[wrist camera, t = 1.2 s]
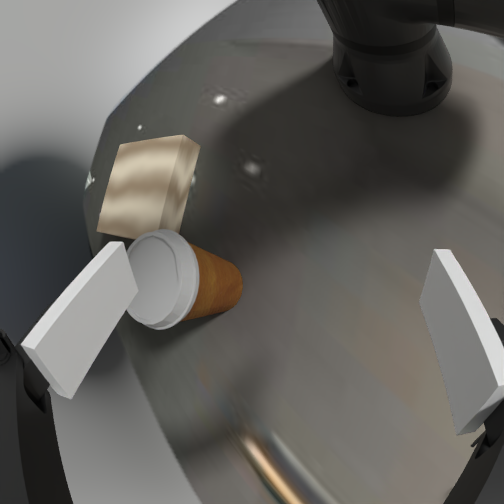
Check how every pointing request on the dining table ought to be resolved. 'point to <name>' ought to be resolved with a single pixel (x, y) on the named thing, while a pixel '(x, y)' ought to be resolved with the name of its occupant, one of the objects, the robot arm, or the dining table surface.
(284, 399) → the dining table surface
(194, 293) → the disposable coffee cup
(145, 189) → the wooden base block
